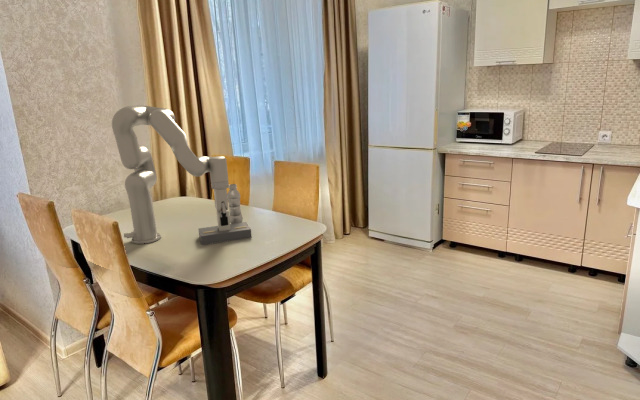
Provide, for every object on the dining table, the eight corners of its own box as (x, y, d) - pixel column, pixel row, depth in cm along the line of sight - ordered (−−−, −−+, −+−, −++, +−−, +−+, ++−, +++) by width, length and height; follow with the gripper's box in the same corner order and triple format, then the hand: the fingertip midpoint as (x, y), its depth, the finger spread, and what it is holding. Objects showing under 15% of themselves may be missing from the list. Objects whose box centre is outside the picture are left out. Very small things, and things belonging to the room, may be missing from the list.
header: (201, 245, 193) (200, 235, 192) (199, 236, 204) (198, 227, 203) (251, 237, 200) (250, 228, 199) (246, 229, 211) (245, 221, 210)
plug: (220, 238, 199) (216, 203, 195) (219, 235, 203) (215, 201, 199) (231, 236, 201) (228, 202, 197) (229, 233, 204) (226, 200, 200)
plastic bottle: (240, 226, 217) (236, 186, 212) (227, 225, 218) (223, 186, 213) (245, 222, 223) (241, 183, 218) (232, 221, 225) (228, 183, 220)
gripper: (209, 181, 202) (213, 220, 207) (213, 189, 187) (217, 230, 191) (225, 180, 204) (229, 218, 209) (231, 187, 189) (235, 228, 194)
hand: (223, 223), depth 200 cm, fingers closed on plug, 4 cm apart
